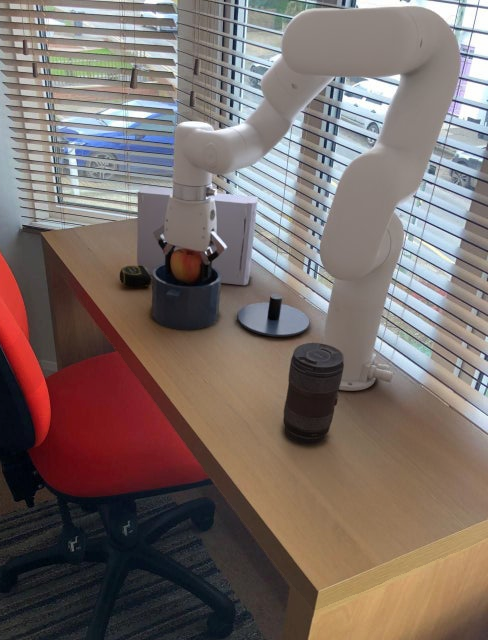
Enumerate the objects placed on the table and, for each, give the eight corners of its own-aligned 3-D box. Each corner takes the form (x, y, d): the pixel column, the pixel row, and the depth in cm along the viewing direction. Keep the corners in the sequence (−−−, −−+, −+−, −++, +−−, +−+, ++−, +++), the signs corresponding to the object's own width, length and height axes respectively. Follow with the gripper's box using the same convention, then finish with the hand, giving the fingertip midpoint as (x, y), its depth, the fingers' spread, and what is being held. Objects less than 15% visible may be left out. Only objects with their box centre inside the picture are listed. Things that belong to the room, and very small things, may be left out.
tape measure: (152, 289, 152) (152, 274, 150) (123, 292, 150) (123, 276, 148) (144, 278, 157) (144, 263, 155) (116, 280, 155) (116, 265, 153)
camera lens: (295, 412, 112) (309, 336, 104) (337, 432, 108) (355, 353, 100) (270, 433, 107) (282, 353, 99) (313, 454, 103) (329, 373, 94)
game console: (247, 286, 156) (256, 204, 145) (136, 274, 159) (137, 192, 148) (249, 277, 161) (258, 196, 150) (141, 265, 163) (142, 185, 152)
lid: (313, 314, 145) (317, 288, 142) (302, 344, 133) (306, 318, 130) (246, 302, 149) (249, 277, 145) (229, 331, 136) (232, 304, 133)
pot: (227, 302, 148) (231, 262, 143) (203, 340, 132) (206, 297, 127) (168, 291, 151) (169, 252, 146) (137, 327, 135) (137, 285, 130)
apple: (162, 281, 137) (163, 245, 132) (185, 272, 142) (186, 236, 137) (189, 292, 133) (191, 254, 129) (211, 282, 138) (214, 245, 133)
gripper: (240, 194, 127) (232, 279, 136) (162, 179, 133) (160, 261, 143) (224, 203, 121) (217, 291, 131) (143, 187, 127) (142, 272, 137)
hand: (187, 275), depth 137 cm, fingers closed on apple, 7 cm apart
